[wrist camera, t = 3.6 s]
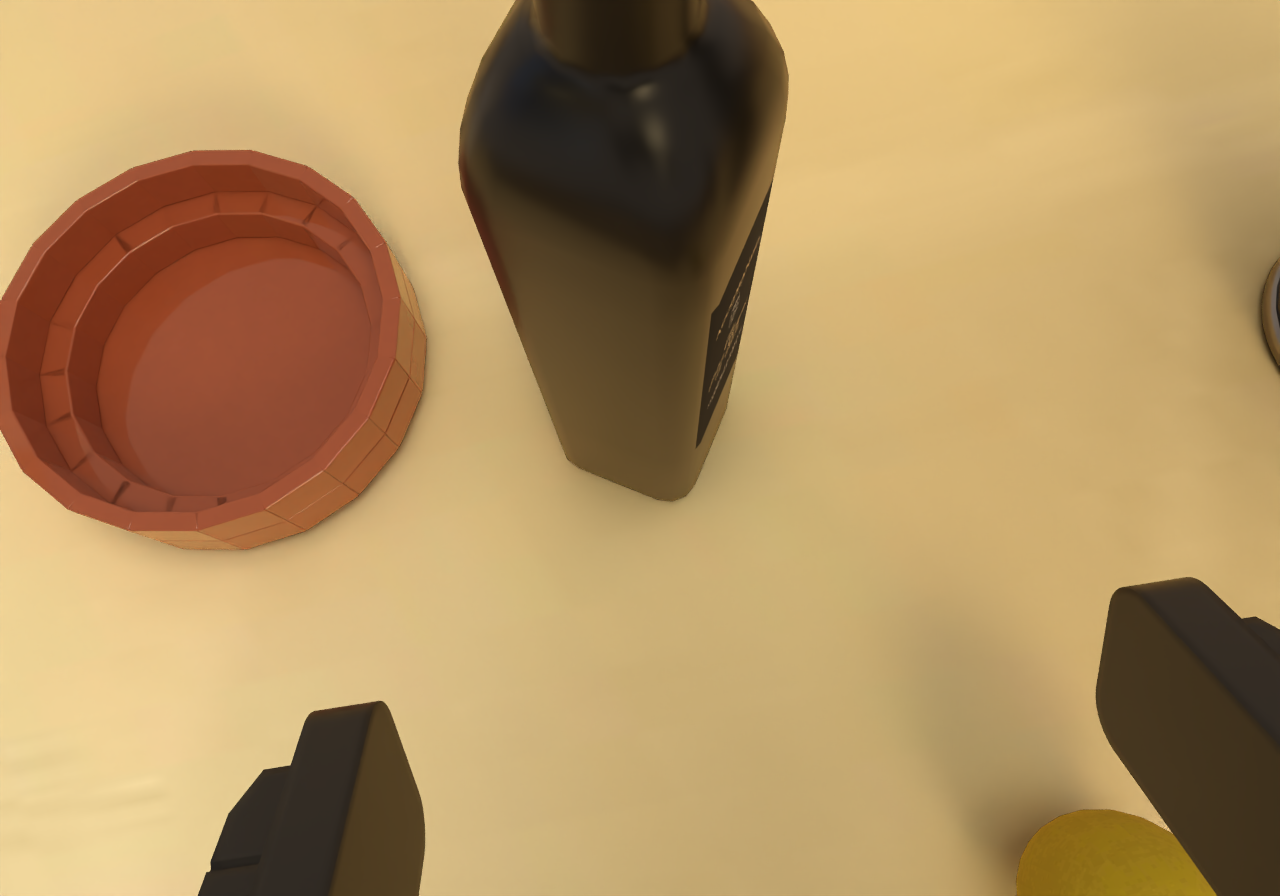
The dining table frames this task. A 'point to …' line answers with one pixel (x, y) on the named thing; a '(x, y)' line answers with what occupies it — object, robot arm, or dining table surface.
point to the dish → (209, 351)
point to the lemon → (1107, 859)
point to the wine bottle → (627, 214)
